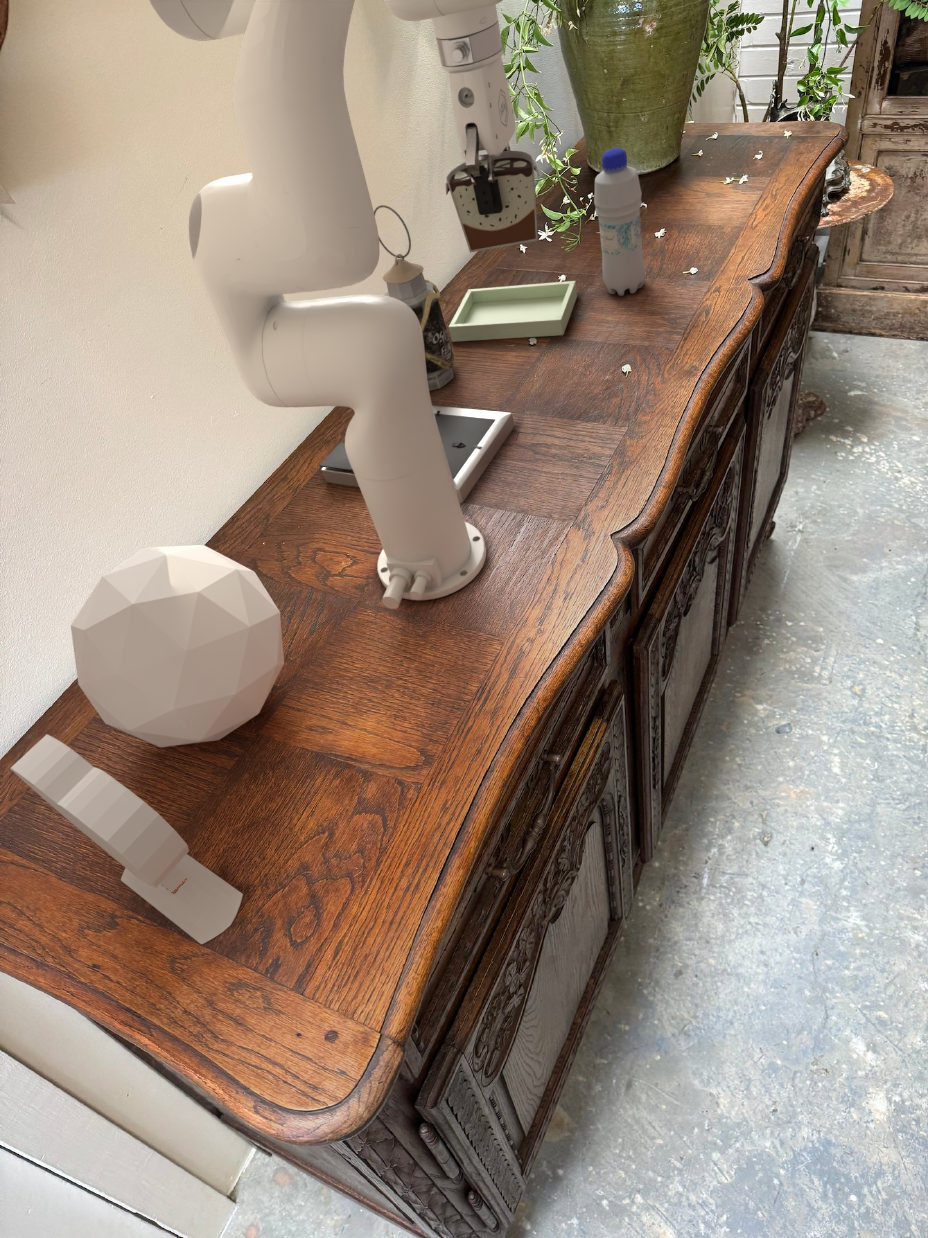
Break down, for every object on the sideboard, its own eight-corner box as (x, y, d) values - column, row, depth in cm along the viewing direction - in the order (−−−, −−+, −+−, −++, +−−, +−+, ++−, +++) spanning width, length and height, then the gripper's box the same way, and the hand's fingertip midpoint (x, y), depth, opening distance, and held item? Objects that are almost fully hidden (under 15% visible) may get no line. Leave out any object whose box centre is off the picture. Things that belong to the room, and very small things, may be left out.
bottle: (594, 289, 131) (580, 153, 116) (631, 273, 132) (621, 135, 117) (618, 304, 126) (605, 163, 112) (655, 287, 127) (648, 146, 113)
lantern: (471, 371, 122) (429, 195, 104) (433, 400, 119) (383, 223, 101) (430, 358, 127) (383, 188, 109) (392, 386, 124) (338, 215, 106)
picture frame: (326, 482, 111) (462, 502, 102) (319, 465, 109) (457, 484, 100) (384, 413, 120) (514, 426, 110) (378, 396, 118) (511, 408, 108)
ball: (294, 725, 93) (347, 638, 77) (117, 811, 81) (139, 728, 65) (210, 589, 97) (245, 481, 82) (31, 651, 85) (32, 538, 70)
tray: (563, 335, 123) (561, 319, 122) (451, 341, 129) (448, 326, 128) (577, 295, 131) (575, 280, 129) (471, 303, 137) (468, 289, 135)
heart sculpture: (258, 905, 71) (157, 794, 58) (216, 957, 68) (102, 853, 56) (148, 826, 79) (38, 714, 66) (107, 870, 77) (-15, 762, 64)
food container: (550, 219, 116) (539, 141, 109) (548, 238, 112) (537, 158, 105) (464, 235, 119) (447, 160, 112) (459, 254, 115) (442, 178, 108)
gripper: (481, 65, 93) (509, 227, 105) (517, 18, 103) (539, 170, 116) (418, 76, 95) (453, 233, 108) (460, 29, 106) (487, 177, 119)
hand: (497, 199), depth 112 cm, fingers closed on food container, 6 cm apart
